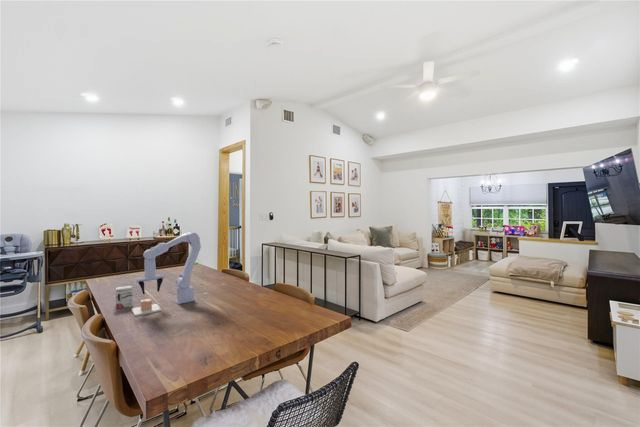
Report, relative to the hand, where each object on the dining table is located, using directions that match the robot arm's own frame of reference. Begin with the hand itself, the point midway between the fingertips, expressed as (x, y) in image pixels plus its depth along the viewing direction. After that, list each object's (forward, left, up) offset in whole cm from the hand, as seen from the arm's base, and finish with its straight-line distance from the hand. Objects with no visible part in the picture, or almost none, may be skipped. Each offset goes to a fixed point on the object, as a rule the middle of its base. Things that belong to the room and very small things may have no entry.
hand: (151, 292), depth 175 cm
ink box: (+12, -14, -10) cm, 21 cm away
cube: (+3, +3, -8) cm, 9 cm away
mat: (+3, +3, -9) cm, 10 cm away
